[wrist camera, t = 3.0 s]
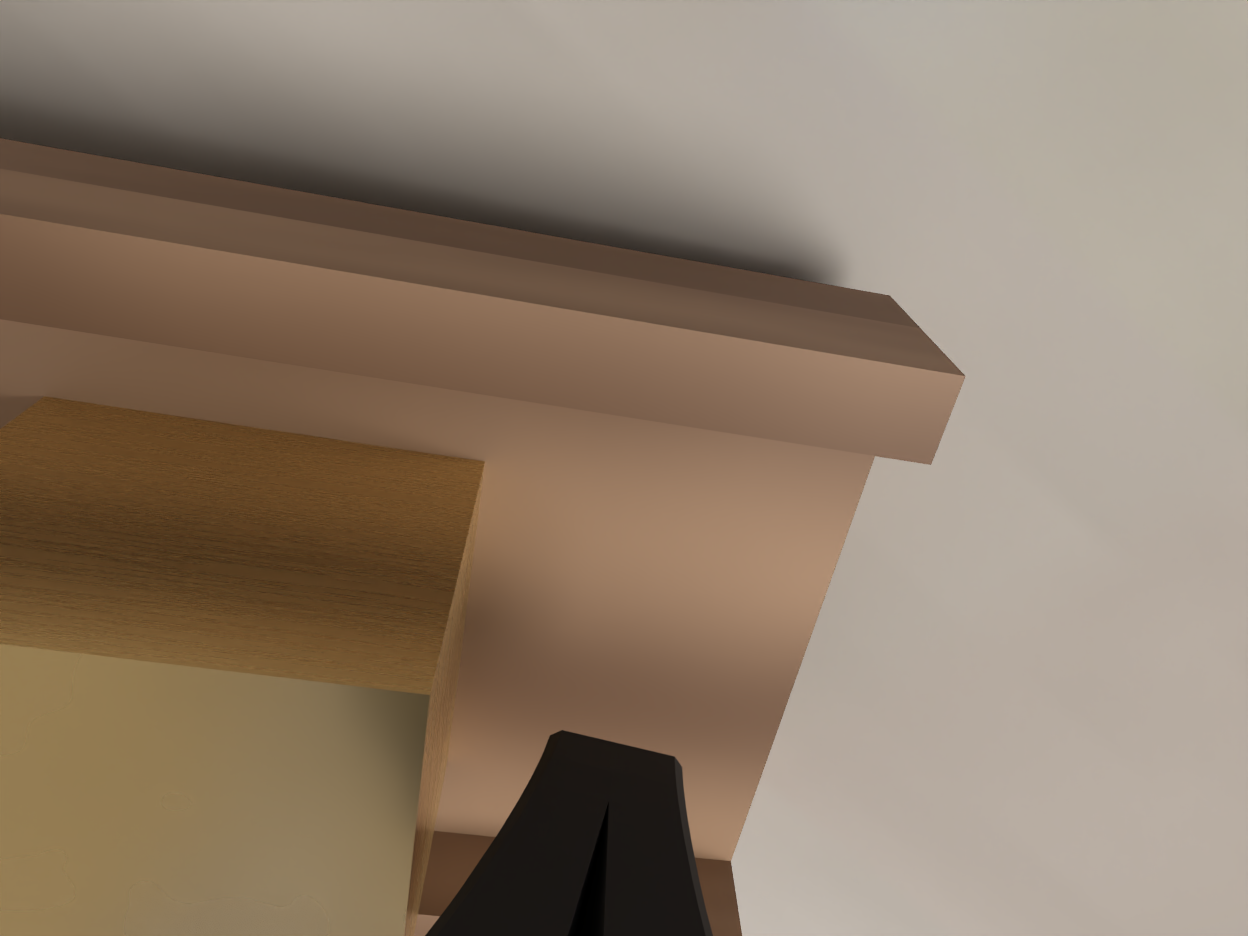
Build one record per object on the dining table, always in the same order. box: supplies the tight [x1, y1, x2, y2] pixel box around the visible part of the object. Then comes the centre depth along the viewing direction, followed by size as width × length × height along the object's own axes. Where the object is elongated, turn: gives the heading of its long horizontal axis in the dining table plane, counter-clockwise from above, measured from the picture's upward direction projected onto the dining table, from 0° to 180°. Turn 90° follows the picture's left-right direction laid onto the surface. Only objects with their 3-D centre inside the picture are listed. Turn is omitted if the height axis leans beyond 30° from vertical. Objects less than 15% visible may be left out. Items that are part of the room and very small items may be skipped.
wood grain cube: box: [0, 396, 485, 936], centre depth 10 cm, size 5×5×4 cm
